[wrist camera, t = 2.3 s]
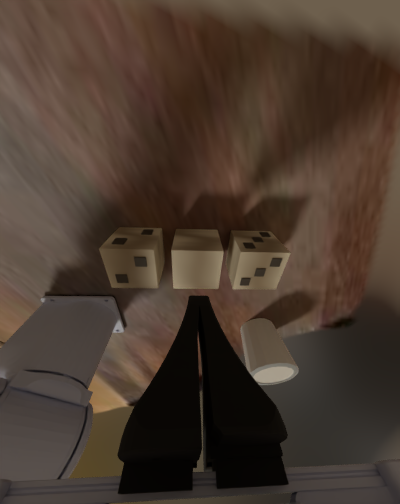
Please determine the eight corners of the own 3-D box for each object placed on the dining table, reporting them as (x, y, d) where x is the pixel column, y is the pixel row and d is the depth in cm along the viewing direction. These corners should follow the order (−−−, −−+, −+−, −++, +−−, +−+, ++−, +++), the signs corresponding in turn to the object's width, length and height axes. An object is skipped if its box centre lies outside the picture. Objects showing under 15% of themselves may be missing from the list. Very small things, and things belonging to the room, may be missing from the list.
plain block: (177, 261, 20) (173, 288, 16) (176, 228, 18) (171, 250, 14) (213, 262, 20) (218, 288, 17) (217, 229, 18) (223, 251, 14)
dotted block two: (127, 261, 20) (111, 288, 16) (119, 225, 17) (97, 247, 13) (164, 261, 20) (158, 289, 16) (162, 226, 18) (153, 249, 14)
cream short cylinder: (248, 312, 26) (265, 361, 20) (285, 319, 27) (310, 367, 21) (230, 335, 29) (239, 383, 23) (263, 341, 31) (279, 388, 25)
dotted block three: (225, 262, 20) (233, 289, 17) (230, 228, 18) (241, 251, 14) (260, 263, 21) (276, 290, 17) (270, 229, 18) (291, 252, 14)
